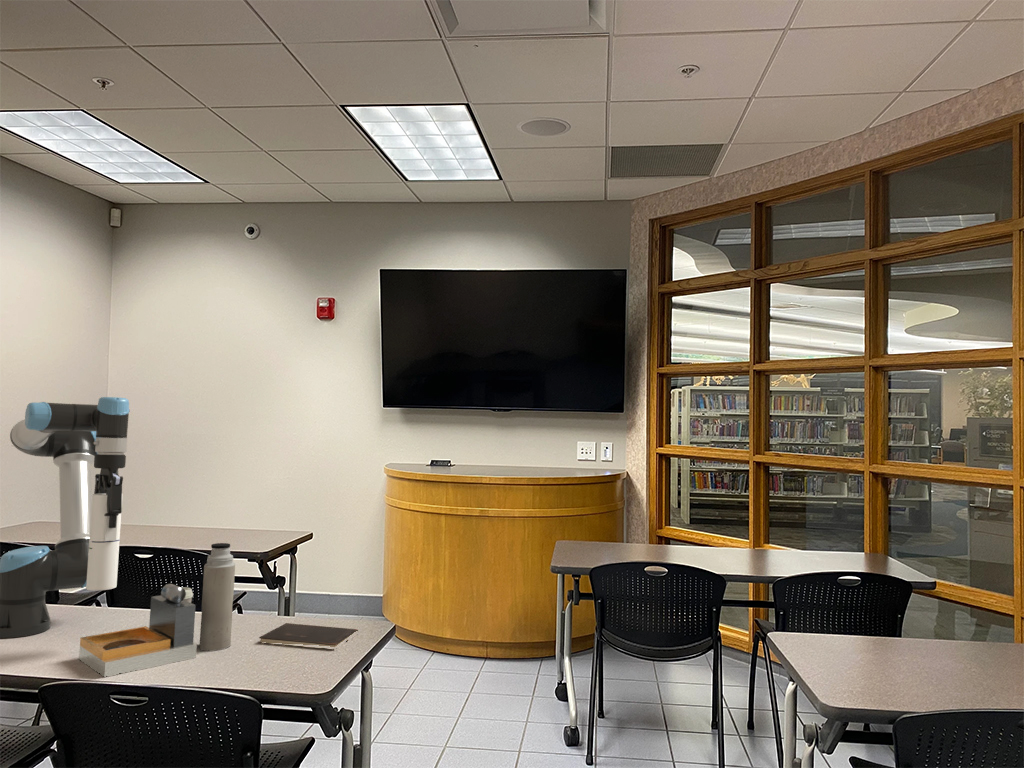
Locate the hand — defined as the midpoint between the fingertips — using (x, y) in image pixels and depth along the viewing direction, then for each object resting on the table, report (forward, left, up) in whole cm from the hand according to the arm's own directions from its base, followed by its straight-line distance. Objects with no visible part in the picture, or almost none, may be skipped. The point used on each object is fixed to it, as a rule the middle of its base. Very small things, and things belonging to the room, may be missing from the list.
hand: (104, 538), depth 192 cm
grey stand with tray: (+15, +5, -29) cm, 33 cm away
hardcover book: (+29, +47, -30) cm, 63 cm away
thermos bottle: (+18, +24, -30) cm, 42 cm away
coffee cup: (-3, +22, -30) cm, 37 cm away
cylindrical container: (0, 0, -13) cm, 13 cm away
